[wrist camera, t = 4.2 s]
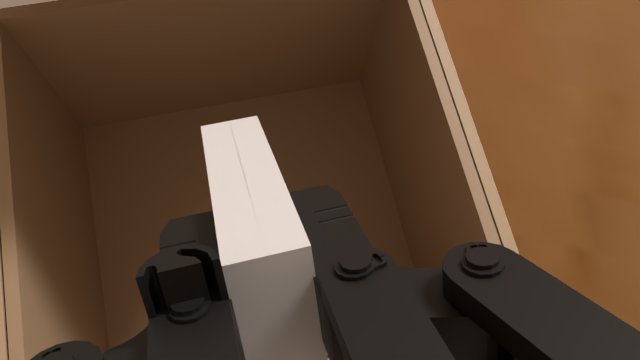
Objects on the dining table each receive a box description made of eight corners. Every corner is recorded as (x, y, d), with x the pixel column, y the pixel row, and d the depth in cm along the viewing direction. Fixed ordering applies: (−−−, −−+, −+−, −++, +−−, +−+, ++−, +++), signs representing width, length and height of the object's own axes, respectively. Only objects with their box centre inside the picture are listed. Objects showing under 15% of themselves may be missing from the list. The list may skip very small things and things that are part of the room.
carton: (372, 71, 45) (413, -54, 32) (450, 338, 39) (541, 319, 26) (66, 124, 42) (-30, 9, 29) (99, 426, 36) (-4, 456, 22)
